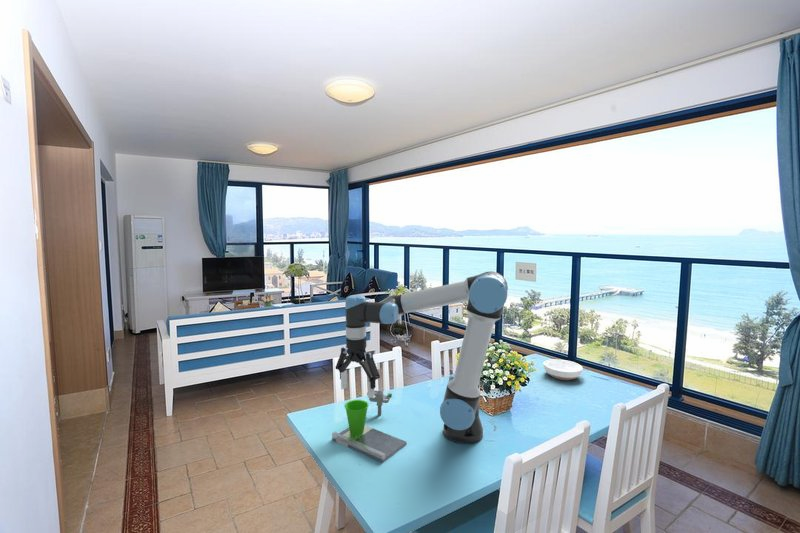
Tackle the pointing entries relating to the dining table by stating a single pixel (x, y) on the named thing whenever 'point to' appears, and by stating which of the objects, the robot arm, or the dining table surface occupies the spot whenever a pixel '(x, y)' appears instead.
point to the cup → (356, 416)
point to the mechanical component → (380, 399)
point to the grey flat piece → (370, 443)
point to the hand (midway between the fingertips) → (357, 392)
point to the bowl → (562, 369)
